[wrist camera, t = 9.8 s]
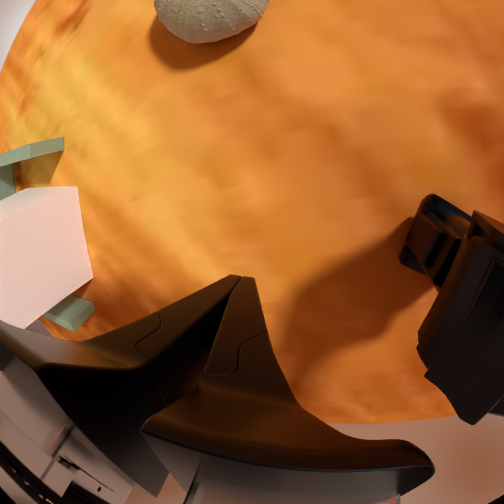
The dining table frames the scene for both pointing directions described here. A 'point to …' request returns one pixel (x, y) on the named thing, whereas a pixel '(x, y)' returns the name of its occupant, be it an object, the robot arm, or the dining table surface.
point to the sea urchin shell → (208, 17)
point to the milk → (40, 252)
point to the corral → (71, 307)
